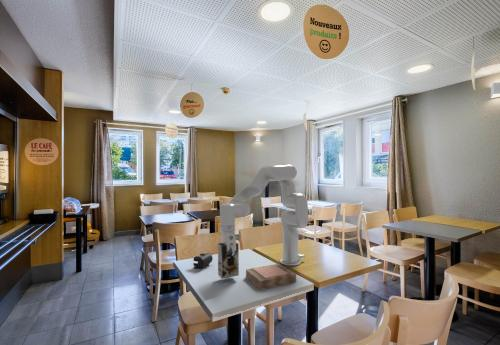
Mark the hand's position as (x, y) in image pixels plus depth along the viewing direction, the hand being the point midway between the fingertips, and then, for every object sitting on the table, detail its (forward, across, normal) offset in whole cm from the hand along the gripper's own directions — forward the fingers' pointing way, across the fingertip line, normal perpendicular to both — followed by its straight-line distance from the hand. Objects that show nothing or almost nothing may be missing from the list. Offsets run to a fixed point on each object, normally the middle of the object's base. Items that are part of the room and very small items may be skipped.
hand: (228, 262), depth 127 cm
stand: (+9, -9, -19) cm, 23 cm away
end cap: (+9, +24, +7) cm, 26 cm away
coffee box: (+6, 0, 0) cm, 6 cm away
